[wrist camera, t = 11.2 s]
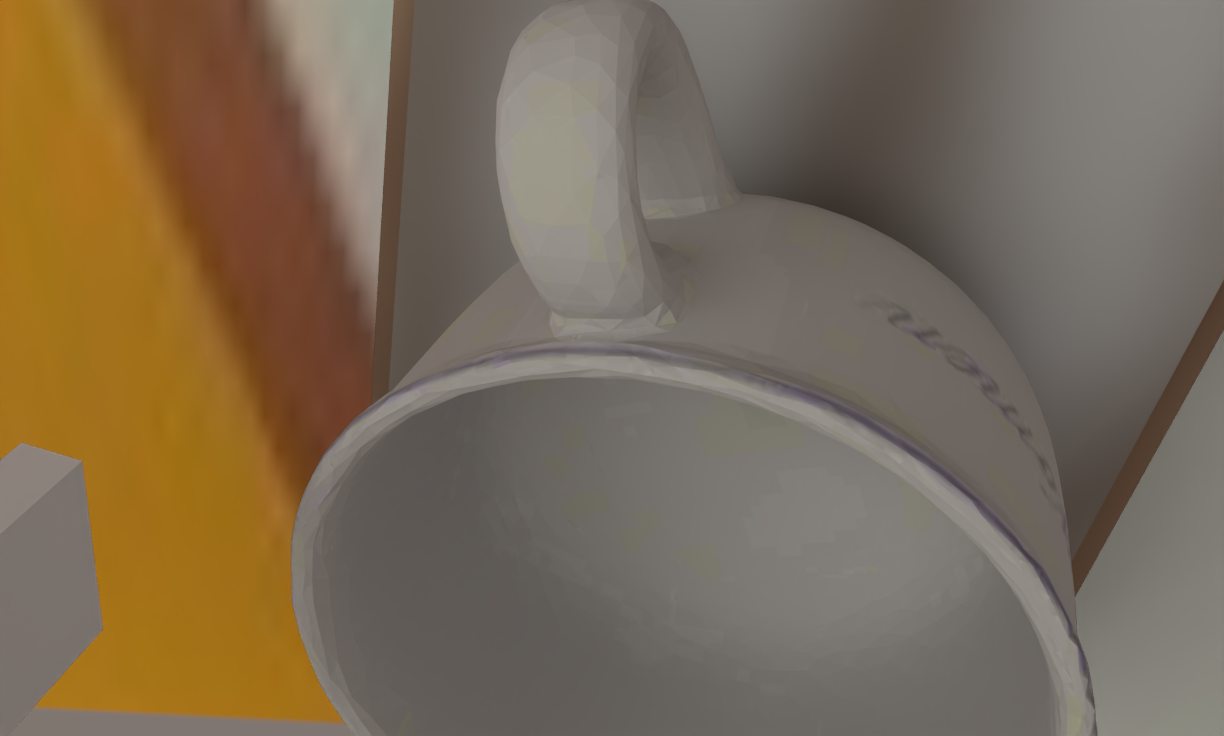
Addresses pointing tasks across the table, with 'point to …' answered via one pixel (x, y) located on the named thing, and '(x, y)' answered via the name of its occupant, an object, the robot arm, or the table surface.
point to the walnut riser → (898, 181)
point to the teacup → (689, 459)
